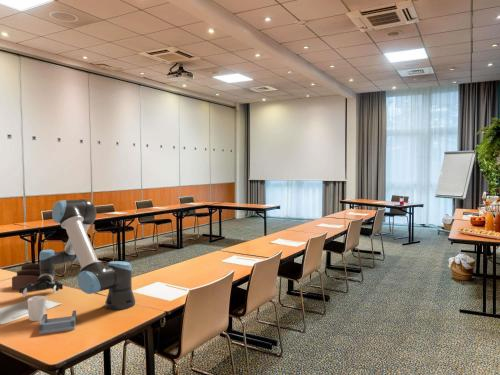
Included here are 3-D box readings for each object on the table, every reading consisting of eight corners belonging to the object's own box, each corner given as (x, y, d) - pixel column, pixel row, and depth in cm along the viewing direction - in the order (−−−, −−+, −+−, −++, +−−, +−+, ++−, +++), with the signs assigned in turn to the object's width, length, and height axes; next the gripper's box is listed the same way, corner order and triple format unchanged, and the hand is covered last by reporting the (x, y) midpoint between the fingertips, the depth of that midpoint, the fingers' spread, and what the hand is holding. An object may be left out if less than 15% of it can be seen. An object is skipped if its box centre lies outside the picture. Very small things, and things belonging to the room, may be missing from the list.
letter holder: (22, 284, 242) (22, 262, 242) (52, 285, 241) (52, 263, 240) (11, 289, 233) (11, 266, 232) (42, 290, 231) (42, 267, 230)
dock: (43, 322, 180) (43, 314, 179) (76, 318, 185) (76, 310, 184) (39, 334, 166) (39, 325, 166) (74, 329, 172) (74, 320, 171)
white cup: (29, 317, 187) (28, 296, 187) (47, 314, 190) (47, 295, 189) (26, 322, 180) (25, 301, 179) (45, 320, 182) (44, 299, 182)
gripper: (69, 285, 218) (66, 297, 198) (19, 290, 209) (10, 303, 189) (69, 272, 218) (66, 283, 198) (19, 277, 209) (10, 288, 189)
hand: (39, 293), depth 194 cm, fingers open, 13 cm apart
